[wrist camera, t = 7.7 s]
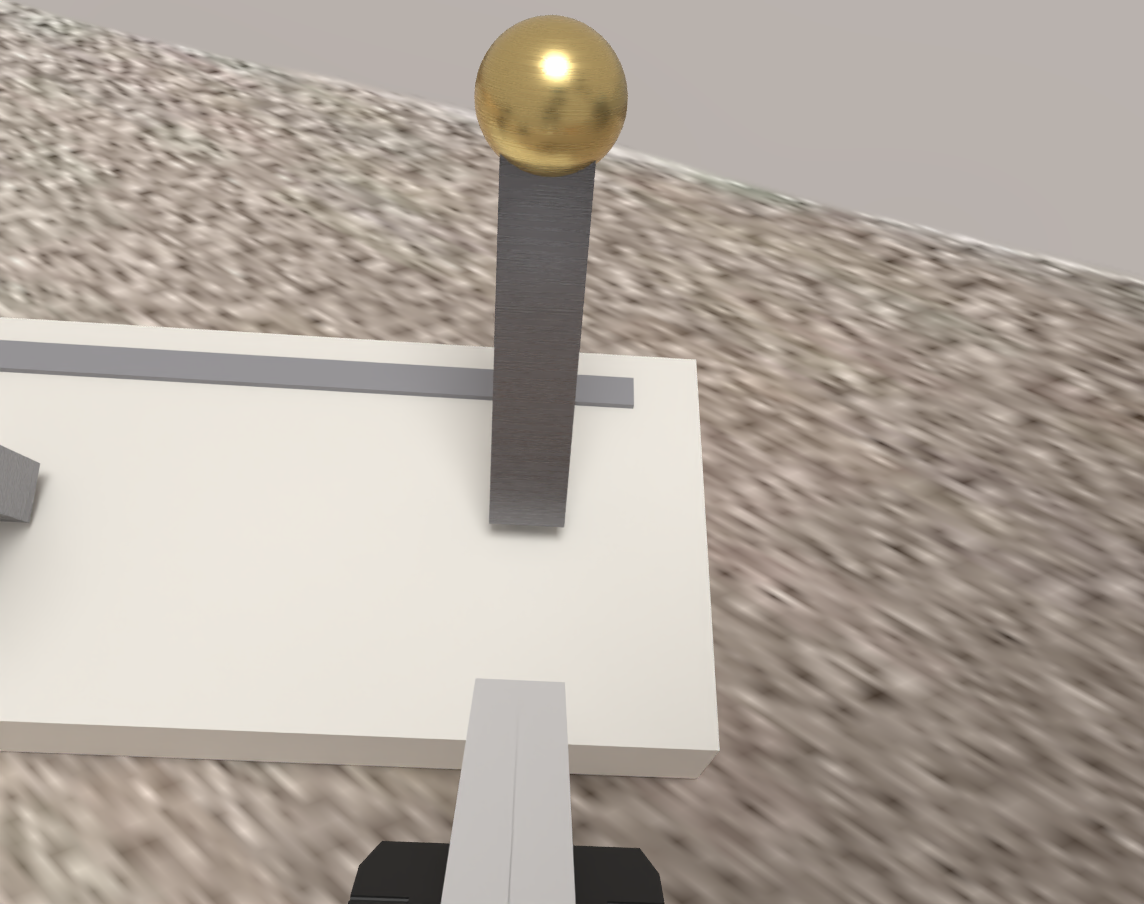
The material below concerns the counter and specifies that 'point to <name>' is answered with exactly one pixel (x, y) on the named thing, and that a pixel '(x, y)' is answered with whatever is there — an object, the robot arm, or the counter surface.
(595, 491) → the control panel
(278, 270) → the counter surface
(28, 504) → the black lever
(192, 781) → the counter surface
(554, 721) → the robot arm
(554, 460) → the brass lever
